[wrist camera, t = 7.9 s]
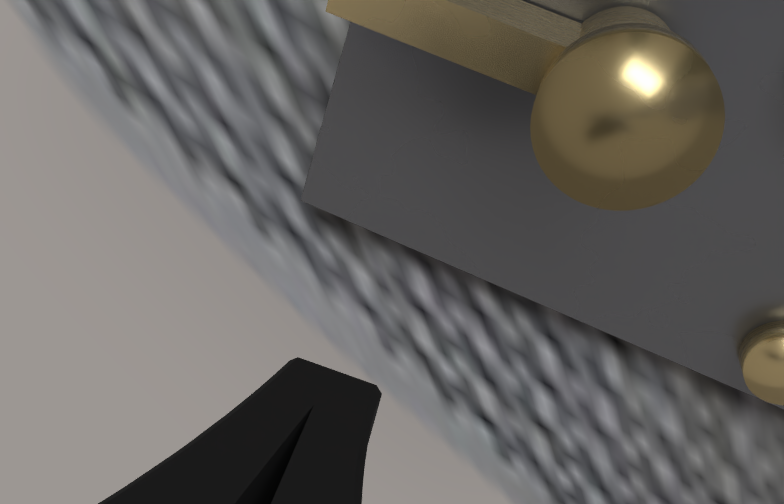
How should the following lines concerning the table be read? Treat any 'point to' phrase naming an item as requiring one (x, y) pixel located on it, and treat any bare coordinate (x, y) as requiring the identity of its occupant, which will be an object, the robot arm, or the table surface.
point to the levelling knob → (579, 88)
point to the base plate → (567, 216)
